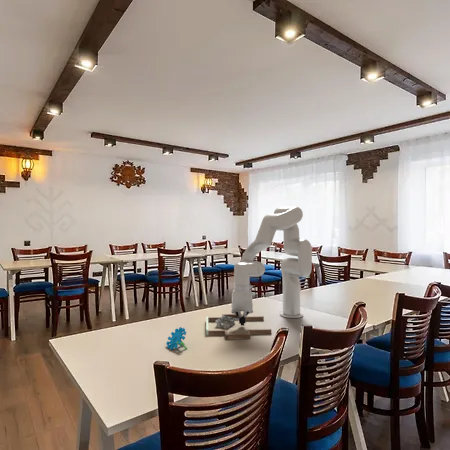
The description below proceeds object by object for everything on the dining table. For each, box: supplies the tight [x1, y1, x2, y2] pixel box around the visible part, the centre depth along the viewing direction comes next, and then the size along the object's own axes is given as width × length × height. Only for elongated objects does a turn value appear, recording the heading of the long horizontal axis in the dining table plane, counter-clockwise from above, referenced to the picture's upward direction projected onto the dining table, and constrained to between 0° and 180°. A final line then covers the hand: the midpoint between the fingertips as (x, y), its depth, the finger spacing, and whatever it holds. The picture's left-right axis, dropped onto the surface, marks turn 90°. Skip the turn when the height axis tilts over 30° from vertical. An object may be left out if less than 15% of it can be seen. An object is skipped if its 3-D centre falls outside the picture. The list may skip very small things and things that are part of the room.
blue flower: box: [165, 326, 188, 350], centre depth 140 cm, size 11×6×10 cm
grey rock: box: [215, 315, 236, 330], centre depth 169 cm, size 11×8×4 cm
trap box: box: [207, 313, 272, 340], centre depth 165 cm, size 33×29×2 cm
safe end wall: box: [205, 316, 209, 337], centre depth 165 cm, size 22×1×2 cm, turn 3°
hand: (242, 324), depth 166 cm, fingers closed
